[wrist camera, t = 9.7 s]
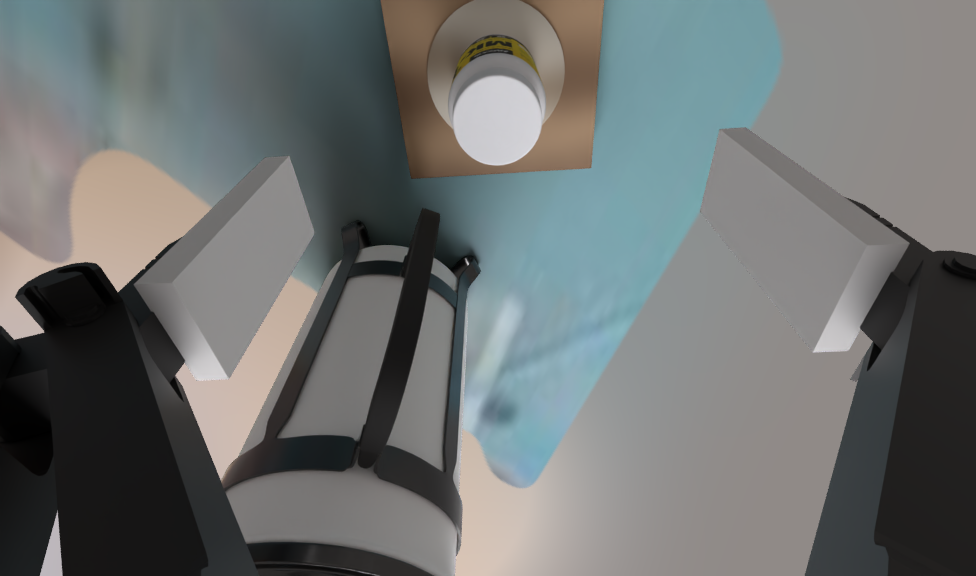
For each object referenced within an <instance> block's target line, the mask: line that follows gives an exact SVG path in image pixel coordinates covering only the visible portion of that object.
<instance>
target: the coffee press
mask: <svg viewBox="0 0 976 576" xmlns="http://www.w3.org/2000/svg"><path fill="white" fill-rule="evenodd" d="M439 222H440V214H439V213H437V212H434V211H431V210H428V209H425V208H423V209H422V211H421V213H420V216H419V219H418V222H417V225H416V228H415V231H414V234H413V237H412V240H411V243H410V246H409V248H408V247H403V246H396V245H379V246H371V243H370V240H369V236H368V233H367V230H366V228H365V226H364V224H363V223H362V222H361V221H356V222H353V223H351V224H349V225H346V226H344V227H342V238H343V244H344V255H343V258H342V260H340V261H339V262H338V263H337V264H336V265H335V266H334V267H333V268H332V270H331V271H330V272H329V274H328V275H327V277H326V279H325V281H324V283H323V284H322V286H321V288H320V290H319V292H318V294H317V296H316V299H315V300H314V302H313V305H312V307H311V309H310V311H309V313H308V315H307V317H306V319H305V321H304V323H303V325H302V327H301V329H300V331H299V333H298V335H297V337H296V339H295V341H294V343H293V345H292V348H291V349H290V351H289V354H288V356H287V358H286V360H285V362H284V364H283V366H282V368H281V370H280V372H279V374H278V376H277V378H276V381H275V382H274V384H273V386H272V388H271V391H270V393H269V395H268V397H267V399H266V401H265V403H264V405H263V407H262V409H261V411H260V413H259V415H258V417H257V419H256V421H255V423H254V426H253V428H252V429H251V431H250V434H249V436H248V438H247V440H246V442H245V444H244V446H243V448H242V450H241V452H240V454H239V456H238V458H237V459H235V460H234V461H233V462H232V463H231V464H230V465H229V467H228V468H227V470H226V472H225V474H224V476H223V478H222V480H221V483H222V485H223V488H224V490H225V493H226V495H227V498H228V500H229V502H230V505H231V507H232V510H233V512H234V515H235V517H236V520H237V522H238V525H239V527H240V530H241V532H242V535H243V537H244V539H245V542H246V544H247V547H248V549H249V552H250V554H251V557H252V559H253V562H254V564H255V567H256V569H257V572H258V574H259V576H455V564H456V556H457V554H458V552H459V550H460V546H461V532H462V501H461V498H460V495H459V484H460V464H461V445H462V425H463V405H464V385H465V364H466V344H467V320H468V308H467V300H466V298H467V291H468V288H469V286H470V285H471V283H472V282H473V281H474V280H475V279H476V277H477V276H478V275H479V274H480V271H481V270H480V268H479V266H478V264H477V263H476V261H475V259H474V257H473V256H466V257H464V258H462V259H461V260H460V261H459V262H457V263H456V264H455V265H454V266H453V267H452V268H451V269H450V270H449V269H448V268H447V267H446V266H445V265H444V264H442V263H441V262H440V261H438V260H437V259H435V258H434V253H435V247H436V241H437V235H438V229H439Z"/></svg>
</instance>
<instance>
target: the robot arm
mask: <svg viewBox="0 0 976 576" xmlns="http://www.w3.org/2000/svg"><path fill="white" fill-rule="evenodd" d="M700 212H701V214H702V215H703V216H704V217H705V219H706V220H707V221H708V222H709V224H710V225H711V226H712V227H713V229H714V230H715V231H716V232H717V233H718V235H719V236H720V237H721V239H722V240H723V241H724V242H725V244H726V245H727V246H728V247H729V249H730V250H731V251H732V252H733V253H734V255H735V256H736V257H737V258H738V260H739V261H740V262H741V264H742V265H743V266H744V267H745V268H746V270H747V271H748V272H749V274H750V275H751V276H752V277H753V279H754V280H755V281H756V282H757V283H758V285H759V286H760V287H761V288H762V290H763V291H764V292H765V293H766V295H767V296H768V297H769V299H771V301H772V302H773V304H774V305H775V306H776V307H777V308H778V310H779V311H780V312H781V314H782V315H783V316H784V317H785V319H786V320H787V321H788V322H789V323H790V325H791V326H792V327H793V328H794V330H795V331H796V332H797V333H798V335H799V336H800V337H801V338H802V340H803V341H804V342H805V343H806V345H807V346H808V347H809V348H810V350H811V351H812V352H832V351H848V350H849V349H850V347H851V345H852V343H853V341H854V340H855V338H856V336H857V335H858V333H859V331H860V329H861V330H862V331H863V332H864V333H865V334H866V335H867V336H868V337H869V338H870V339H871V340H872V341H873V343H872V344H871V346H870V348H869V349H868V351H867V352H866V354H865V356H864V357H863V359H862V361H861V362H860V364H859V366H858V367H857V369H856V371H855V372H854V374H853V375H852V377H851V379H850V380H853V381H857V380H858V382H857V386H856V390H855V393H854V397H853V401H852V404H851V408H850V412H849V415H848V419H847V423H846V426H845V430H844V434H843V437H842V441H841V445H840V448H839V452H838V456H837V459H836V463H835V467H834V470H833V474H832V478H831V481H830V485H829V489H828V492H827V496H826V500H825V503H824V507H823V511H822V514H821V518H820V522H819V526H818V529H817V532H816V537H815V540H814V544H813V547H812V551H811V555H810V558H809V562H808V566H807V569H806V573H805V576H976V256H975V255H972V254H968V253H962V252H956V251H935V252H932V251H931V250H929V249H928V248H926V247H925V246H923V245H922V244H920V243H919V242H917V241H916V240H915V239H913V238H912V237H910V236H909V235H907V234H906V233H904V232H903V231H901V230H900V229H899V228H897V227H893V225H892V224H891V223H890V222H888V221H887V220H886V219H884V218H880V215H878V214H877V213H875V212H874V211H872V210H871V209H869V208H868V207H867V206H865V205H863V204H861V203H858V202H856V201H853V200H851V199H849V198H846V197H844V196H842V195H841V194H839V193H838V192H836V191H835V190H834V189H832V188H831V187H829V186H828V185H827V184H825V183H824V182H822V181H821V180H819V179H818V178H816V177H815V176H814V175H812V174H811V173H809V172H808V171H807V170H805V169H804V168H802V167H801V166H800V165H798V164H797V163H795V162H794V161H793V160H791V159H790V158H788V157H787V156H785V155H784V154H782V153H781V152H780V151H778V150H777V149H776V148H774V147H773V146H771V145H770V144H768V143H767V142H766V141H764V140H763V139H761V138H760V137H758V136H757V135H756V134H754V133H753V132H751V131H750V130H749V129H747V128H746V127H745V128H729V129H720V130H719V134H718V138H717V143H716V147H715V151H714V155H713V159H712V163H711V167H710V172H709V176H708V180H707V184H706V188H705V192H704V197H703V201H702V205H701V209H700ZM314 234H315V232H314V229H313V226H312V223H311V220H310V217H309V214H308V211H307V208H306V205H305V202H304V199H303V196H302V193H301V190H300V187H299V183H298V180H297V177H296V174H295V171H294V168H293V165H292V162H291V159H290V156H279V157H265V158H264V159H263V160H262V161H261V162H260V163H259V164H258V165H257V166H256V167H255V168H254V169H253V170H252V171H250V172H249V173H248V174H247V175H246V176H245V177H244V178H243V179H242V180H241V181H240V182H239V183H238V184H237V185H236V186H235V187H234V188H233V189H232V190H231V191H230V192H229V193H228V194H227V195H226V196H225V197H224V198H223V199H222V200H221V201H219V202H218V203H217V204H216V205H215V206H214V207H213V208H212V209H211V210H210V211H209V212H208V213H207V214H206V215H205V216H204V217H203V218H202V219H201V220H200V221H199V222H198V223H197V224H196V225H195V226H194V227H193V228H192V229H191V230H189V231H188V232H187V233H186V234H185V235H184V236H183V237H181V238H180V239H178V240H176V241H175V242H173V243H171V244H169V245H168V246H167V247H166V248H165V249H164V250H162V251H161V252H160V253H159V254H158V255H157V256H156V257H155V258H156V259H154V260H152V261H151V262H150V263H149V264H148V265H147V266H146V267H145V269H143V270H141V271H140V272H139V273H138V274H137V275H136V276H135V277H134V278H133V279H132V280H131V281H130V282H129V283H128V284H127V285H125V287H123V288H122V289H121V290H120V291H119V292H117V291H116V289H115V288H114V286H113V285H112V283H111V282H110V280H109V279H108V278H107V276H106V275H105V273H104V272H103V270H102V269H101V268H100V267H99V266H98V265H97V264H95V263H88V262H84V263H75V264H70V265H67V266H63V267H59V268H56V269H54V270H51V271H49V272H46V273H44V274H41V275H39V276H38V277H36V278H34V279H32V280H31V281H29V282H27V283H26V284H25V285H24V286H23V287H21V288H20V289H19V290H18V292H17V294H16V296H15V298H16V299H17V300H18V301H19V302H20V303H21V305H23V307H24V308H25V309H26V310H27V312H28V313H29V314H30V315H31V316H32V317H33V319H34V320H35V321H36V322H37V323H38V324H39V325H40V326H41V328H42V329H43V330H44V333H41V334H37V335H33V336H29V337H25V338H21V339H16V340H14V339H13V338H12V337H11V336H10V335H9V334H8V333H7V332H6V330H5V329H4V328H3V327H2V326H0V576H40V572H41V568H42V565H43V561H44V558H45V554H46V550H47V547H48V543H49V539H50V536H51V532H52V528H53V525H54V521H55V517H56V513H57V510H58V518H59V533H60V545H61V558H62V571H63V576H259V574H258V572H257V569H256V567H255V564H254V562H253V559H252V557H251V554H250V552H249V549H248V547H247V544H246V542H245V539H244V537H243V535H242V532H241V530H240V527H239V525H238V522H237V520H236V517H235V515H234V512H233V510H232V507H231V505H230V502H229V500H228V498H227V495H226V493H225V490H224V488H223V485H222V483H221V480H220V478H219V475H218V473H217V470H216V468H215V465H214V463H213V461H212V458H211V456H210V453H209V451H208V448H207V446H206V443H205V441H204V438H203V436H202V433H201V431H200V428H199V426H198V424H197V421H196V419H195V416H194V414H193V411H192V409H191V406H190V404H189V401H188V399H187V397H186V394H185V391H184V389H183V386H182V385H181V384H180V382H179V381H178V379H177V378H176V376H175V375H176V373H177V372H178V371H179V369H180V368H181V367H182V365H183V364H184V362H185V364H186V365H187V367H188V369H189V370H190V372H191V373H192V375H193V376H194V378H195V379H196V381H199V380H220V379H221V380H222V379H229V378H230V377H231V375H232V373H233V371H234V370H235V368H236V366H237V365H238V363H239V361H240V359H241V358H242V356H243V355H244V353H245V351H246V349H247V348H248V346H249V344H250V343H251V341H252V339H253V337H254V336H255V334H256V333H257V331H258V329H259V327H260V326H261V324H262V322H263V320H264V319H265V317H266V316H267V314H268V312H269V310H270V309H271V307H272V305H273V304H274V302H275V300H276V298H277V297H278V295H279V293H280V292H281V290H282V288H283V287H284V285H285V283H286V282H287V280H288V278H289V277H290V275H291V273H292V271H293V270H294V268H295V266H296V265H297V263H298V261H299V260H300V258H301V256H302V254H303V253H304V251H305V249H306V248H307V246H308V244H309V243H310V241H311V239H312V238H313V236H314Z"/></svg>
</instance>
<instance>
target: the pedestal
mask: <svg viewBox="0 0 976 576" xmlns="http://www.w3.org/2000/svg"><path fill="white" fill-rule="evenodd" d="M381 6H382V12H383V17H384V23H385V29H386V35H387V41H388V47H389V53H390V58H391V64H392V70H393V76H394V82H395V88H396V94H397V99H398V105H399V111H400V117H401V123H402V129H403V135H404V140H405V146H406V152H407V158H408V164H409V170H410V176H411V179H415V178H432V177H449V176H466V175H483V174H500V173H517V172H533V171H550V170H567V169H584V168H591V164H592V151H593V137H594V124H595V111H596V98H597V85H598V72H599V59H600V46H601V33H602V20H603V7H604V0H381ZM491 34H503V35H507V36H510V37H512V38H515V39H516V40H518V41H519V42H521V43H522V44H523V45H524V46H525V47H526V48H527V49H528V51H529V52H530V54H531V55H532V57H533V59H534V62H535V65H536V67H537V70H538V73H539V75H540V78H541V81H542V83H543V86H544V90H545V95H546V111H545V116H544V119H543V122H542V127H541V132H540V135H539V137H538V140H537V141H536V143H535V145H534V146H533V148H532V149H531V150H530V151H529V152H528V153H527V154H526V155H525V156H523V157H522V158H520V159H519V160H517V161H515V162H513V163H510V164H505V165H488V164H484V163H481V162H479V161H477V160H475V159H473V158H472V157H470V156H469V155H468V154H467V153H466V152H465V151H464V150H463V149H462V147H461V146H460V145H459V143H458V141H457V139H456V136H455V134H454V130H453V127H452V124H451V122H450V118H449V113H448V97H449V92H450V88H451V85H452V81H453V77H454V74H455V71H456V67H457V64H458V62H459V59H460V57H461V55H462V54H463V52H464V51H465V50H466V48H467V47H468V46H469V45H470V44H472V43H473V42H474V41H475V40H477V39H479V38H481V37H483V36H486V35H491Z"/></svg>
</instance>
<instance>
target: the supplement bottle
mask: <svg viewBox="0 0 976 576" xmlns="http://www.w3.org/2000/svg"><path fill="white" fill-rule="evenodd" d="M545 111H546V95H545V90H544V86H543V83H542V81H541V78H540V75H539V73H538V70H537V67H536V65H535V62H534V59H533V57H532V55H531V54H530V52H529V51H528V49H527V48H526V47H525V46H524V45H523V44H522V43H521V42H519V41H518V40H516V39H515V38H512V37H510V36H507V35H503V34H491V35H486V36H483V37H481V38H479V39H477V40H475V41H474V42H473V43H472V44H470V45H469V46H468V47H467V48H466V50H465V51H464V52H463V54H462V55H461V57H460V59H459V62H458V64H457V67H456V71H455V74H454V77H453V81H452V85H451V88H450V92H449V97H448V113H449V118H450V122H451V124H452V127H453V130H454V134H455V136H456V139H457V141H458V143H459V145H460V146H461V147H462V149H463V150H464V151H465V152H466V153H467V154H468V155H469V156H470V157H472V158H473V159H475V160H477V161H479V162H481V163H484V164H488V165H505V164H510V163H513V162H515V161H517V160H519V159H520V158H522V157H523V156H525V155H526V154H527V153H528V152H529V151H530V150H531V149H532V148H533V146H534V145H535V143H536V141H537V140H538V137H539V135H540V132H541V127H542V122H543V119H544V116H545Z"/></svg>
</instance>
